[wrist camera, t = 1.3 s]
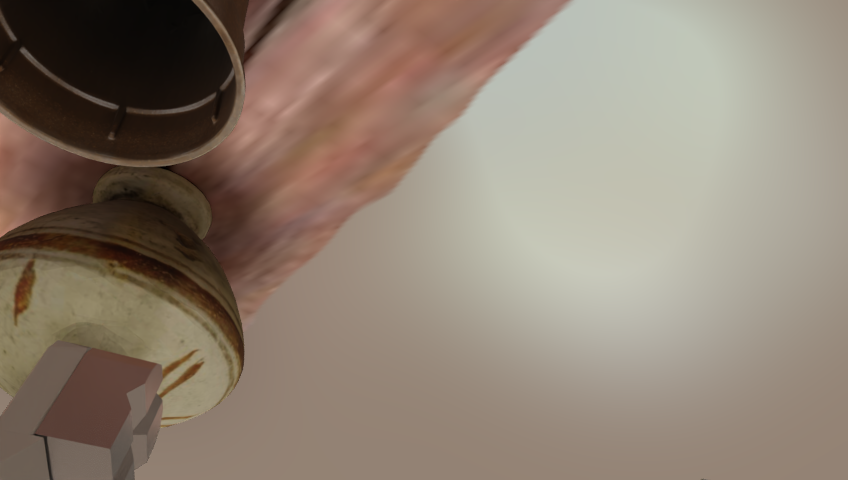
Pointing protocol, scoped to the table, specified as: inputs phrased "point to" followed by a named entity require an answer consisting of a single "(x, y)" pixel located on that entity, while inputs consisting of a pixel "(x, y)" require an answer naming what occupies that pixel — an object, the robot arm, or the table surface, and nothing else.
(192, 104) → the plant pot
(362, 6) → the table surface
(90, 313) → the brown ceramic vase
